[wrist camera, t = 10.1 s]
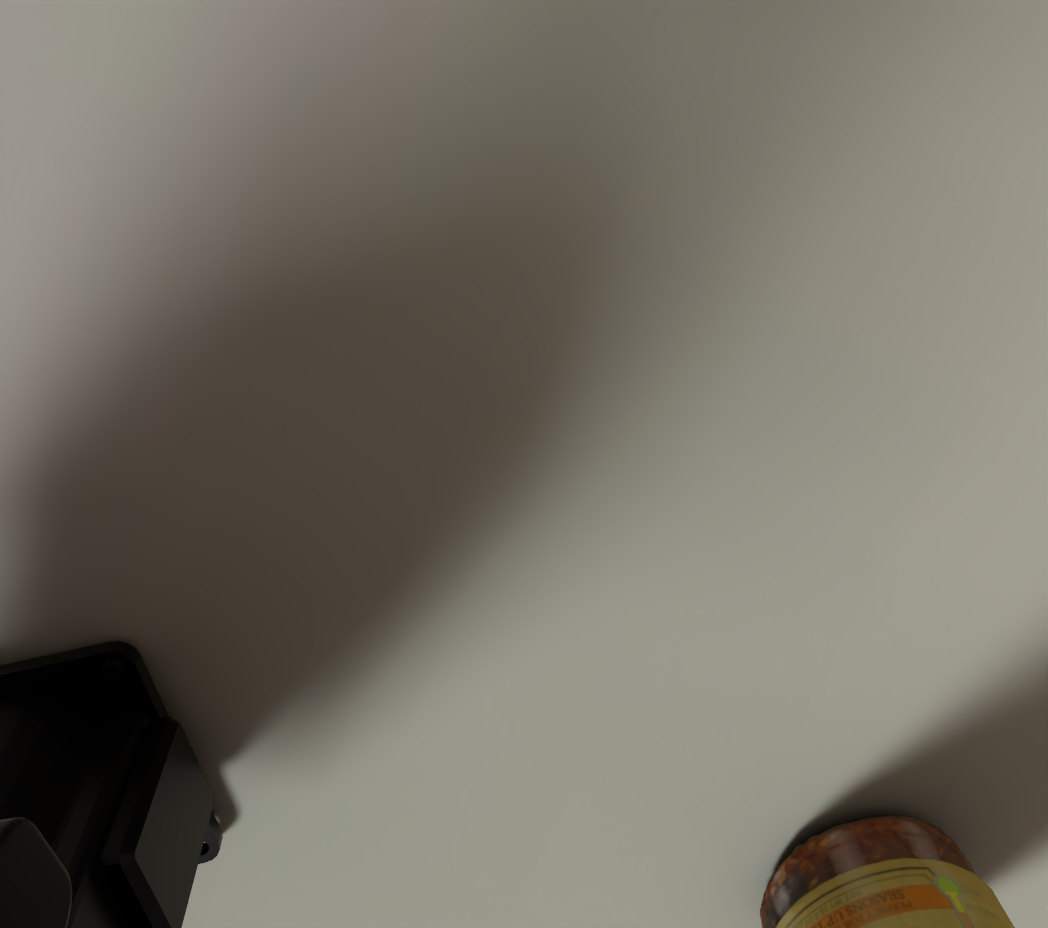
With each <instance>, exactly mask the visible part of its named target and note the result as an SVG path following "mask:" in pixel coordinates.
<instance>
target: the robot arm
mask: <svg viewBox="0 0 1048 928" xmlns="http://www.w3.org/2000/svg"><path fill="white" fill-rule="evenodd" d="M108 661H116V662H118V663H121V664H122V665H123V666H124V667H125V668H123V669H116V668H114V667H111V666H110V665H109V664H108V663H107V662H108ZM213 804H214V796H213V794H212V792H211V790H210V788H209V785H208V783H207V781H206V779H205V777H204V774H203V772H202V770H201V768H200V766H199V763H198V761H197V759H196V757H195V755H194V752H193V750H192V748H191V746H190V744H189V741H188V739H187V737H186V735H185V733H184V730H183V728H182V726H181V724H180V723H179V722H178V721H176V720H175V719H174V718H172V717H170V716H168V713H167V711H166V709H165V707H164V705H163V703H162V700H161V698H160V696H159V694H158V692H157V690H156V687H155V685H154V683H153V681H152V679H151V676H150V674H149V672H148V670H147V668H146V666H145V663H144V661H143V659H142V657H141V655H140V653H139V652H138V651H137V649H136V648H135V647H133V646H131V645H130V644H128V643H124V642H121V641H112V642H106V643H102V644H97V645H92V646H88V647H83V648H79V649H74V650H70V651H65V652H61V653H56V654H52V655H47V656H43V657H38V658H33V659H29V660H24V661H20V662H15V663H11V664H6V665H2V666H0V928H181V927H182V923H183V920H184V916H185V912H186V908H187V904H188V900H189V896H190V893H191V889H192V885H193V881H194V877H195V873H196V870H197V866H198V864H201V863H205V862H208V861H210V860H213V859H214V858H215V857H216V856H217V855H218V852H219V850H220V846H221V841H222V837H223V836H222V831H221V829H220V827H219V824H218V822H217V820H216V818H215V816H214V814H213V811H212V808H213ZM204 842H206V843H204Z"/></svg>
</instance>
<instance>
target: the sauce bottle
mask: <svg viewBox="0 0 1048 928" xmlns="http://www.w3.org/2000/svg"><path fill="white" fill-rule="evenodd" d="M760 917H761V921H762V927H763V928H1014V926H1013V924H1012V922H1011V921H1010V919H1009V917H1008V916H1007V914H1006V912H1005V911H1004V909H1003V907H1002V906H1001V904H1000V902H999V901H998V899H997V897H996V896H995V894H994V892H993V891H992V889H991V888H990V887H989V886H988V885H987V884H986V883H985V882H983V881H982V880H981V879H980V878H979V877H978V876H977V875H976V873H975V872H974V870H973V868H972V865H971V864H970V863H969V861H968V860H967V858H966V856H965V855H964V853H963V852H962V851H961V850H960V848H959V847H958V846H957V844H956V843H955V842H954V841H953V840H952V839H951V838H950V837H949V836H948V835H946V834H945V833H944V832H943V831H942V830H941V829H939V828H936V827H934V826H932V825H930V824H928V823H926V822H923V821H920V820H917V819H915V818H911V817H906V816H897V817H894V816H891V815H889V816H886V817H885V816H883V817H872V818H865V819H862V820H859V821H854V822H849V823H845V824H841V825H838V826H834V827H832V828H830V829H829V830H826V831H824V832H823V833H821V834H820V835H815V836H812V837H810V838H809V839H808V841H807V842H805V843H804V844H801V845H798V846H796V847H795V849H794V850H793V851H792V853H791V854H790V856H788V857H787V858H786V859H785V860H784V861H783V863H782V864H781V865H780V867H779V868H778V870H777V871H776V872H775V873H774V875H773V877H772V879H771V882H770V883H769V885H768V887H767V891H766V892H765V893H764V897H763V901H762V904H761V909H760Z"/></svg>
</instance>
